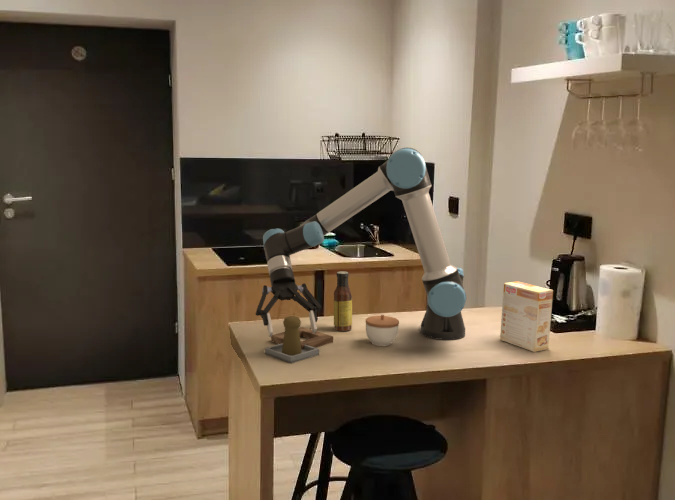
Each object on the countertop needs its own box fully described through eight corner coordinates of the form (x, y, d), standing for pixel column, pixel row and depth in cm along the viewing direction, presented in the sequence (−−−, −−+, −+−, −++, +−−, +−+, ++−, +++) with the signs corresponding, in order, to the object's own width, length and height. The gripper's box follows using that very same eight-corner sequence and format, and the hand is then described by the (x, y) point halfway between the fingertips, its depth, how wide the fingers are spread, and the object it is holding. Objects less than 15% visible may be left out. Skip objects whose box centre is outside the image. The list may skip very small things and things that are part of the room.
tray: (319, 354, 214) (319, 349, 214) (291, 363, 206) (291, 357, 205) (292, 345, 222) (292, 340, 222) (264, 353, 214) (264, 348, 213)
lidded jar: (357, 342, 227) (358, 314, 225) (379, 336, 235) (380, 308, 233) (383, 350, 220) (384, 321, 218) (404, 343, 228) (406, 315, 226)
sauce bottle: (355, 328, 242) (357, 272, 239) (345, 333, 237) (347, 275, 234) (339, 325, 246) (340, 269, 242) (329, 329, 241) (330, 272, 237)
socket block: (333, 342, 227) (333, 336, 227) (301, 351, 217) (301, 345, 216) (302, 332, 236) (302, 327, 236) (271, 341, 226) (271, 335, 226)
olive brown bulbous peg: (298, 356, 210) (299, 320, 208) (279, 354, 211) (279, 318, 210) (303, 350, 216) (304, 315, 214) (284, 348, 217) (284, 313, 215)
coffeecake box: (549, 349, 226) (554, 289, 223) (533, 352, 222) (538, 292, 219) (514, 337, 239) (518, 280, 235) (499, 339, 235) (503, 282, 231)
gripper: (316, 278, 230) (329, 335, 219) (240, 281, 222) (250, 341, 210) (321, 265, 224) (335, 323, 213) (243, 268, 216) (254, 329, 205)
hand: (293, 332), depth 212 cm, fingers open, 13 cm apart
